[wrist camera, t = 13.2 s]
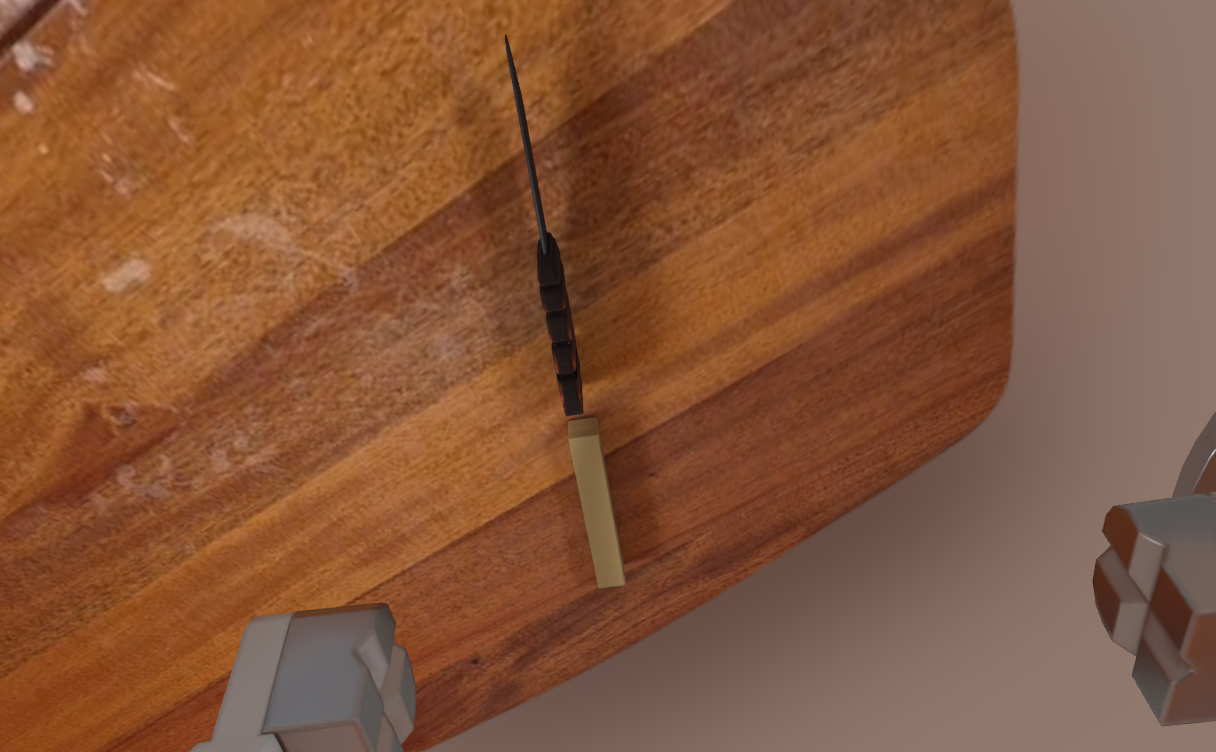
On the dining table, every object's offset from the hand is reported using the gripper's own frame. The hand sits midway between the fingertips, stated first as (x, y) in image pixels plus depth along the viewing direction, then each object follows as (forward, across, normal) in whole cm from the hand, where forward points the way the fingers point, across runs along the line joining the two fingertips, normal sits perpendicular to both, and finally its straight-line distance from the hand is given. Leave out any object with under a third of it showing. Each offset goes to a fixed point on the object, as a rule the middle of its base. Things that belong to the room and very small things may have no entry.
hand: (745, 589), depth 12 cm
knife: (+29, +4, +10) cm, 31 cm away
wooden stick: (+29, +4, +25) cm, 39 cm away
